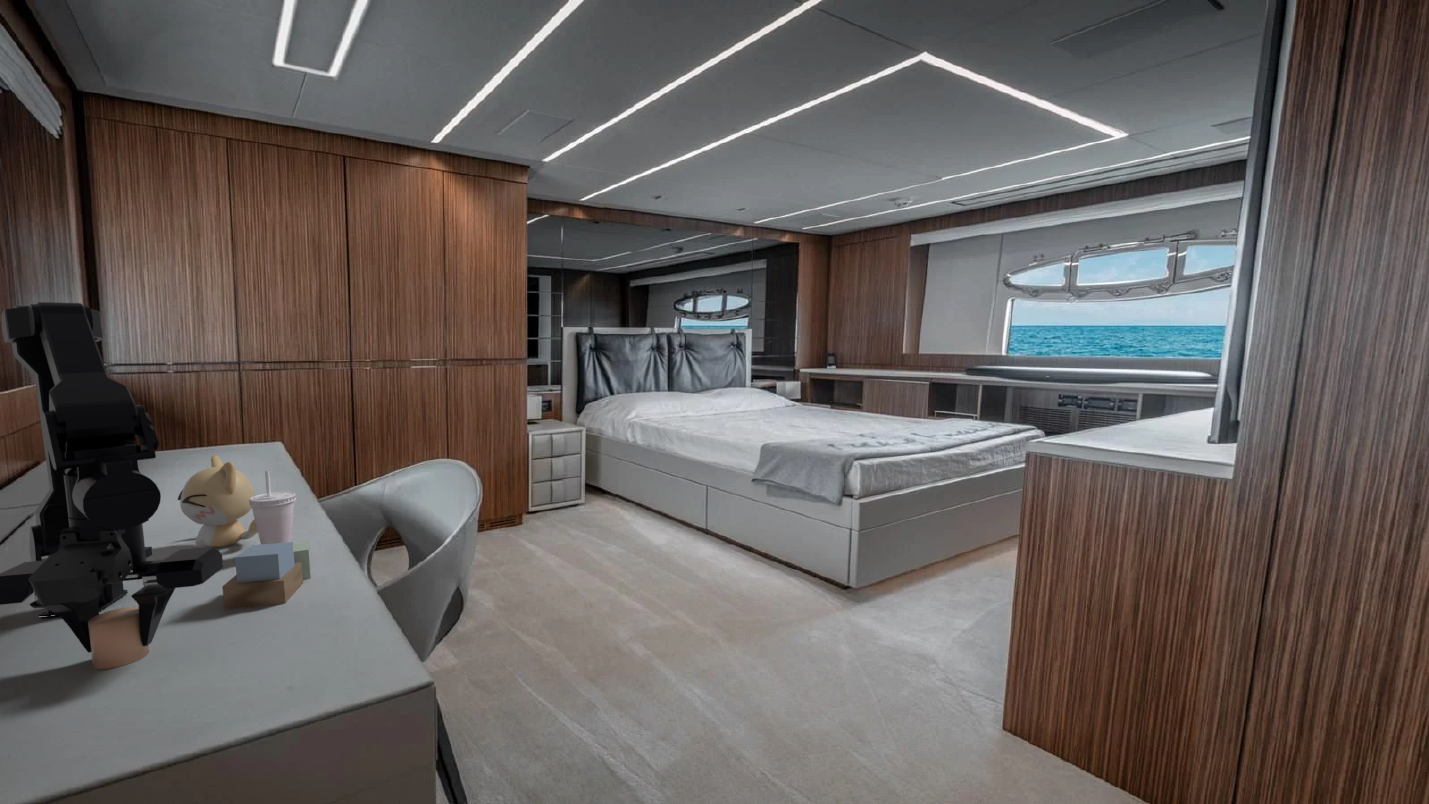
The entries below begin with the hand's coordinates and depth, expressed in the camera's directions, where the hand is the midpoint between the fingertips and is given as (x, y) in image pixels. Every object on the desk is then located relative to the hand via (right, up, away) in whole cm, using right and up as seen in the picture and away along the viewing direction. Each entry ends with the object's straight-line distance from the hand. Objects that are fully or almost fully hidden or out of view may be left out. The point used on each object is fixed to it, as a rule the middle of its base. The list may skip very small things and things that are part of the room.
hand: (120, 647), depth 71 cm
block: (+3, +1, +24) cm, 24 cm away
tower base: (+4, 0, +17) cm, 17 cm away
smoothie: (-6, +2, +34) cm, 34 cm away
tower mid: (+5, +4, +16) cm, 17 cm away
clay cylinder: (0, -1, 0) cm, 1 cm away
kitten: (-19, +3, +38) cm, 43 cm away
